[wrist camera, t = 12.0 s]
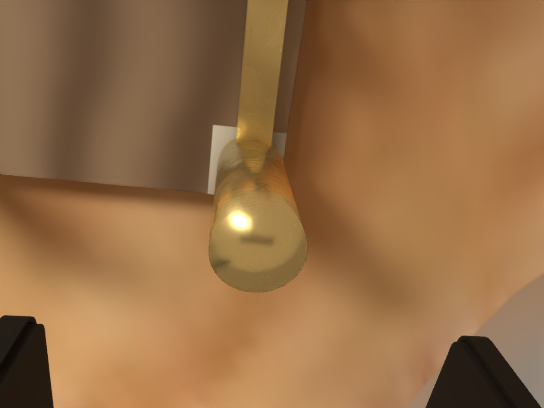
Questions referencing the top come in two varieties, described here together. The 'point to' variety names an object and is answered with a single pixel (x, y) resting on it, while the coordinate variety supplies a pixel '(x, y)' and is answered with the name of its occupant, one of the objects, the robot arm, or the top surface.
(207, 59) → the stool seat
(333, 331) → the top surface
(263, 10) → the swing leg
